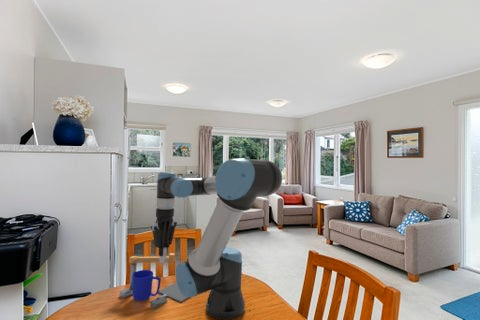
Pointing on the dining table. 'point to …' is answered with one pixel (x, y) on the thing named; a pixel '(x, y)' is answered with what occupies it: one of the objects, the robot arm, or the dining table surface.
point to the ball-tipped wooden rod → (150, 259)
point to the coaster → (173, 293)
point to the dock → (129, 290)
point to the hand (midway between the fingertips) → (162, 262)
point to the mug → (143, 284)
